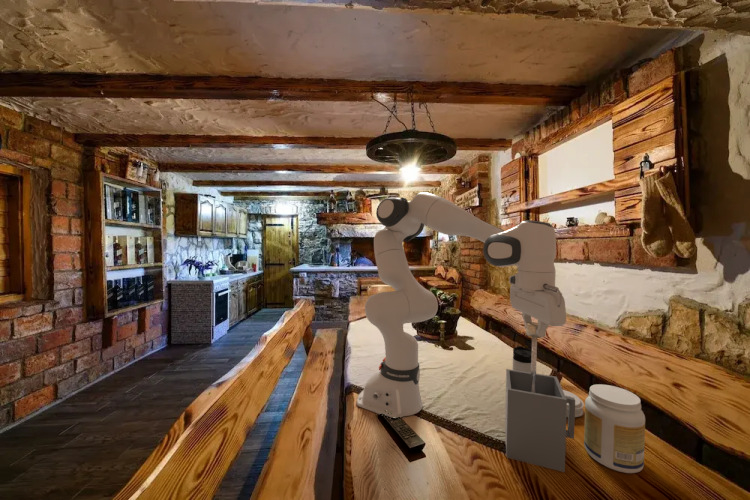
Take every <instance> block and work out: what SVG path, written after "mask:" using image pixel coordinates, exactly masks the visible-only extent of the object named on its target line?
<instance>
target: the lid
mask: <svg viewBox="0 0 750 500" xmlns="http://www.w3.org/2000/svg"><path fill="white" fill-rule="evenodd" d="M562 390H563V392H564V395H565V396H567V397H573V398H575V418H577V417H582V416H583V415H584V413H585V410H584V408H585V402H584V401H583V400H582V399H581V398H579V396H578V395H576V394H575V393H573V392H570V391H567V390H565V389H562ZM568 404H569V403H567V413H566V418H568Z"/></svg>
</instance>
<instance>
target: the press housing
mask: <svg viewBox="0 0 750 500" xmlns="http://www.w3.org/2000/svg"><path fill="white" fill-rule="evenodd" d="M505 371H506V372H505V411H504V413H505V416H504V417H505V418H504V429H505V430H504V434H505V435H506V437H505V455H506V459H507V458H508V459H512V460H515V461H518V462H523V463H527V464H531V465H534V466H539V467H542V468H547V469H550V470H554V471H558V472H562V473H566V470H565V469H566V444H567V443H566V441H567V439H566V438H568V439H573V440H574V439H575V426H576V425H575V423H576V422H575V421H576V420H575V419H576V417H575V398H573V397H567V396H565V395H564V392H563V390H564V389H563V388H562V386H561V383H560V380H559V378H558V377H557V376H553V375H548V374H541V373H536V393H533V392H531V373H529V372H523V371H516V370H513V369H508V368H506V370H505ZM567 403H569V404H568V417H566V413H567Z"/></svg>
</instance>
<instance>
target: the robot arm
mask: <svg viewBox="0 0 750 500" xmlns="http://www.w3.org/2000/svg"><path fill="white" fill-rule="evenodd" d="M375 211H376V213H375V214H376V215H375V216H376V218H377V220H378V221H379V222H380V224H381V225H383V226H384V228H383V229H380V230H378V231H377V232H376V233H375V234H374V237H373V251H374V252H373V253H374V258H375V264H376V269H377V272H378V273H377V274H378V277H379V279H380V280H381V282H382V283H384V284H385V285H388V286H389V287H391V288H393V289H394V291H382V292H378V293H375V294H371V295H369V296H368V298H367V299H366V301H365V304H364V314H365V316H366V318H367V320H368V321H369V323H370V324H371V325H373V326H375V327H376V328H377V329H378V330H379V332H380V334H381V336H382V338H383V341H384V349H385V353H384V358H383V359H382V362H381V363H380V365H379V366H378V372H377V373H375V374H373V375H372V376H370V377H369V378H368V380H367V381H366V383H365V385H364V388H363V390H362V391H360V392H359V394H358V395H357V398H356V405H357V407H359V408H363V409H365V410H368V411H371V412H373V413H376V414H377V415H380V414H381V413H383V414H386V415H388V416H391V417H400V418H402V417H408V416H412V415H416V414H418V413H419V412H420V411H421V410H422V409H423V405H424V404H423V400H422V397H421V392H420V391H421V390H420V382H419V381H420V379H421V377H420V375H421V373H420V372H421V371H420V363H419V343H418V340H417V339H416V337H415V336H413V335H412V334H410V333H408V332H406V331H405V330H404V325H405V324H414V323H422V322H425V321H429V320H430V319H433V318H435V317H436V314H437V312H438V311H439V310H438V308H439V303H438V299H437V297H436V296H435V294H434V293H433V292H432V291H430V290H428V289H427V288H425V287H424V286H423V285H421V284H420V282H418V280H417V279H416V277H414V275H413V273H412V271H411V269H410V266H409V263H408V260H407V257H406V252H405V249H404V245H403V244H404V243H407V242H408V243H409V242H410V241H411V240H412V239H414V238H417V237H418V236H419V235H420V234H421V233H422V232H423V230H424V228H425V226H426V227H428V228H430V229H432V230H433V231H435V232H437V233H440V234H443V235H449V236H458V237H459V236H460V237H469V238H472V239H475V240H478V241H480V242H482V243H483V247H482V254H483V257H484V259H485V261H486V262H487V263H488V264H490V265H492V266H495V267H499V268H503V267H505V268H506V267H514V266H515V267H517V273H515V274H513V275H510V276H509V278H508V281H509V284H510V287H509V300H510V305H511V307H512V309H515V310H516V311H519V312H521V313H522V314H521V315H522V320H523V322H524V329H525V330H526V323H527V322H533V320H532V318H534V319H535V320H537V323H538V324H539V326H538V329H536V335H537V336H539V337H542V338H545V337H546V331H547V330H548V327H549V326H551V327H563V326H565V324H566V322H567V311H566V301H565V298H564V296H563V293H562V291H561V290H560V289H559V287H557V286H556V267H555V259H556V256H557V239H556V238H557V237H556V230H555V227H554V226H553V225H552V224H551V223H549V222H546V221H538V220H532V219H526V220H522V221H521V222H519V224H517V225H516V226H513V227H512V228H509V229H507V230H504V229H502V228H499V227H497V226H496V225H493V224H491V223H489V222H486V221H484V220H482V219H480V218H479V217H477V216H475V215H473V213H470V212H469V211H467V210H465V209H464V208H462V207H461V206H459V205H458V204H456V203H454V202H452V201H451V200H449V199H447V198H445V197H442V196H440V195H438V194H434V193H431V192H425V191H424V192H423V191H422V192H419V193H417V194H416V195H414V197H412V198H411V200H408V199H407V198H406V197H405V196H404V197H403V196H402V197H386V198H384V199H383V200H381V201H380V203H379V204H378V206H377V208H376V210H375ZM403 242H404V243H403ZM384 410H387V411H386V412H385V411H384ZM389 412H391V413H392V414H388V413H389Z"/></svg>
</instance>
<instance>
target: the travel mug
mask: <svg viewBox="0 0 750 500" xmlns="http://www.w3.org/2000/svg"><path fill="white" fill-rule="evenodd" d="M531 357H532V349H530V348H527V347H525V346H523V345H517V346H516V347H514V348H512V370H516V371H523V372H529V373H531Z"/></svg>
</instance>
